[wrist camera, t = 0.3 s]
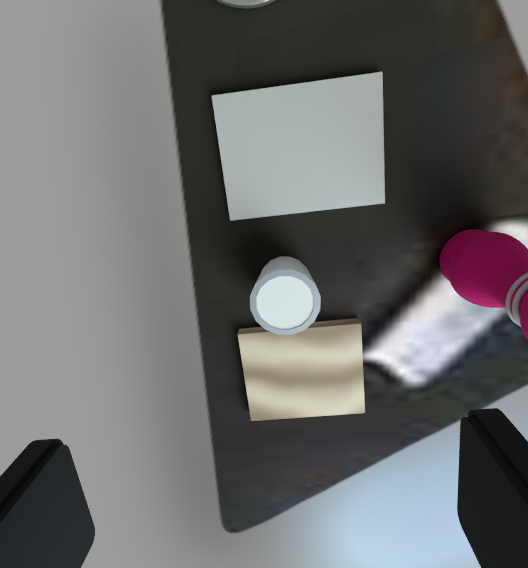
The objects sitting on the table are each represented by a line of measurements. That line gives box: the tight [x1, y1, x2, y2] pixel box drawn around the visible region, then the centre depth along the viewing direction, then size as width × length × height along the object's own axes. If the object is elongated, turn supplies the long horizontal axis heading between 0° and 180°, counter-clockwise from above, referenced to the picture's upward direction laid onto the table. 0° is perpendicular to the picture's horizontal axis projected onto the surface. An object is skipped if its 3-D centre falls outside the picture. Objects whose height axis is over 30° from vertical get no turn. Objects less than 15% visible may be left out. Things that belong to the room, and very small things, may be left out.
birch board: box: [238, 318, 365, 421], centre depth 47 cm, size 12×14×2 cm
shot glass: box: [250, 257, 321, 335], centre depth 41 cm, size 7×7×7 cm
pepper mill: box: [440, 229, 528, 339], centre depth 33 cm, size 7×7×20 cm
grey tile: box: [212, 72, 385, 221], centre depth 39 cm, size 12×16×1 cm
